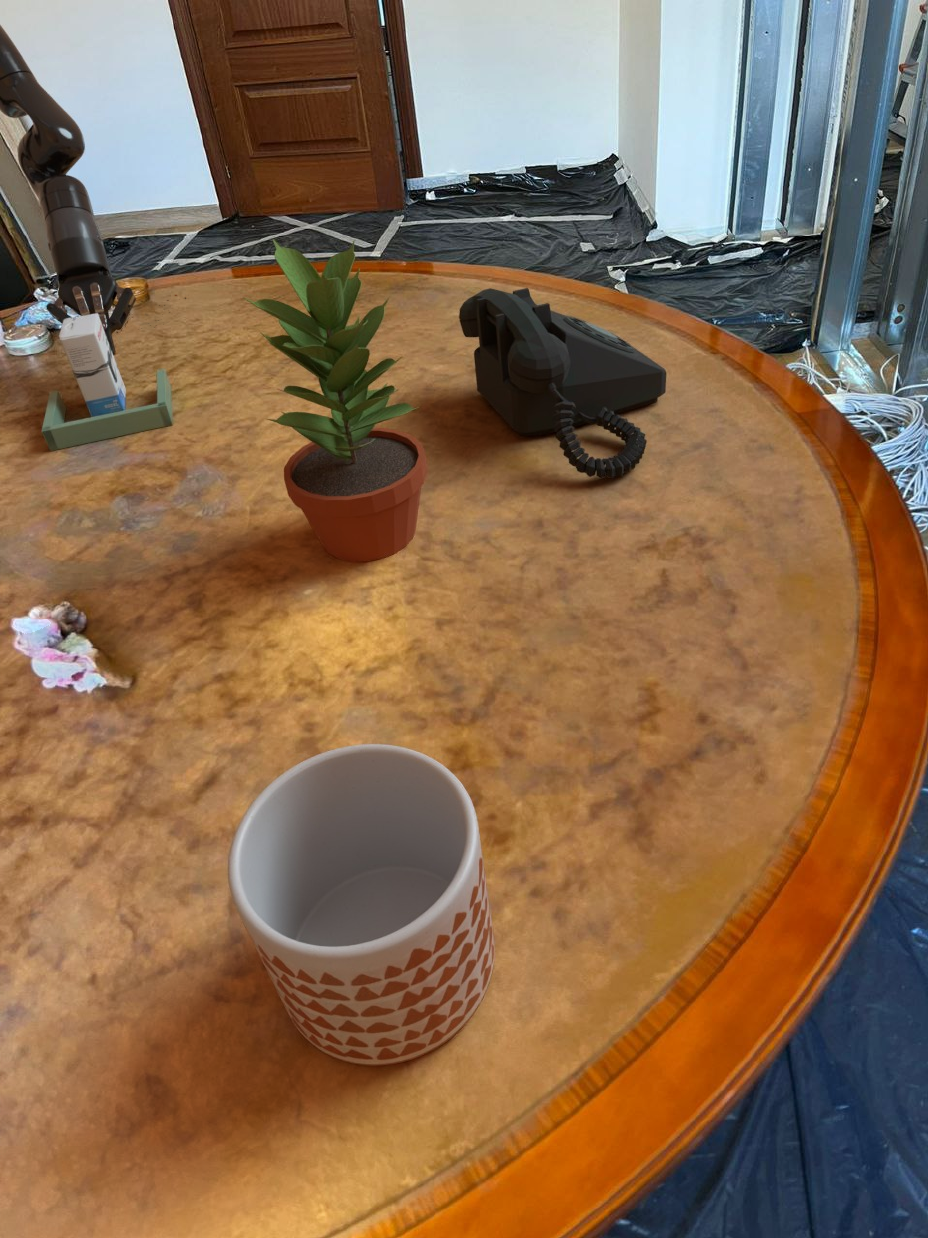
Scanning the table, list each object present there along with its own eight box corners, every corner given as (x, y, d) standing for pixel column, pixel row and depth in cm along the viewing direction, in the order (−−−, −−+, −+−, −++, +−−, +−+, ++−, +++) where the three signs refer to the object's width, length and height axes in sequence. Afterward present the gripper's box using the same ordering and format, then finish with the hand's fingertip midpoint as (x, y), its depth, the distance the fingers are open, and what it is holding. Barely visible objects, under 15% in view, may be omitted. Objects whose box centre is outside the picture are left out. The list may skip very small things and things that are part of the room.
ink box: (125, 412, 122) (95, 331, 115) (90, 419, 122) (57, 338, 114) (127, 388, 129) (98, 311, 121) (94, 395, 128) (63, 317, 120)
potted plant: (415, 582, 84) (363, 272, 65) (279, 567, 89) (192, 271, 70) (460, 501, 95) (426, 214, 76) (336, 491, 99) (274, 217, 80)
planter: (293, 874, 60) (245, 754, 52) (487, 854, 59) (470, 730, 51) (269, 1081, 49) (204, 970, 41) (505, 1057, 49) (487, 941, 41)
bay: (58, 411, 125) (49, 391, 123) (171, 387, 127) (164, 368, 126) (50, 451, 115) (41, 431, 113) (173, 424, 118) (166, 404, 116)
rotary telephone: (732, 449, 98) (747, 320, 88) (560, 498, 93) (557, 368, 84) (599, 350, 123) (599, 240, 113) (458, 384, 118) (446, 274, 109)
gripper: (129, 254, 132) (157, 359, 131) (40, 271, 130) (68, 378, 128) (116, 226, 124) (145, 337, 123) (22, 244, 122) (51, 357, 121)
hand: (106, 358), depth 126 cm, fingers closed
